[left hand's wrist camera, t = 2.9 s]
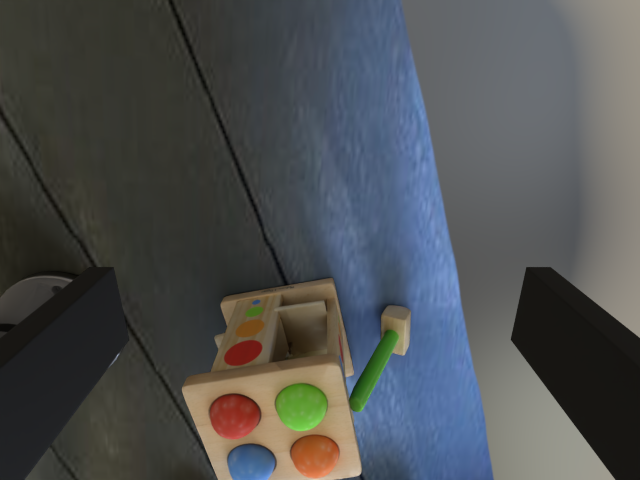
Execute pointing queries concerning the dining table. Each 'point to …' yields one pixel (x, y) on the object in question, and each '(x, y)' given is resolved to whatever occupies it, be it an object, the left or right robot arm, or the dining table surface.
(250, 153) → the dining table surface
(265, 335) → the pounding bench toy
